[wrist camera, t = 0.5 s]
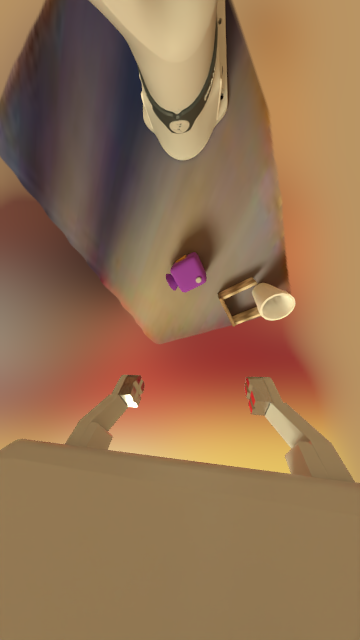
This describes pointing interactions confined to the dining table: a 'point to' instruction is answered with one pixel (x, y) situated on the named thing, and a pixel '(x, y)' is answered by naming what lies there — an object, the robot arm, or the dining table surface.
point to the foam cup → (272, 301)
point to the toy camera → (187, 273)
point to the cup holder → (234, 290)
